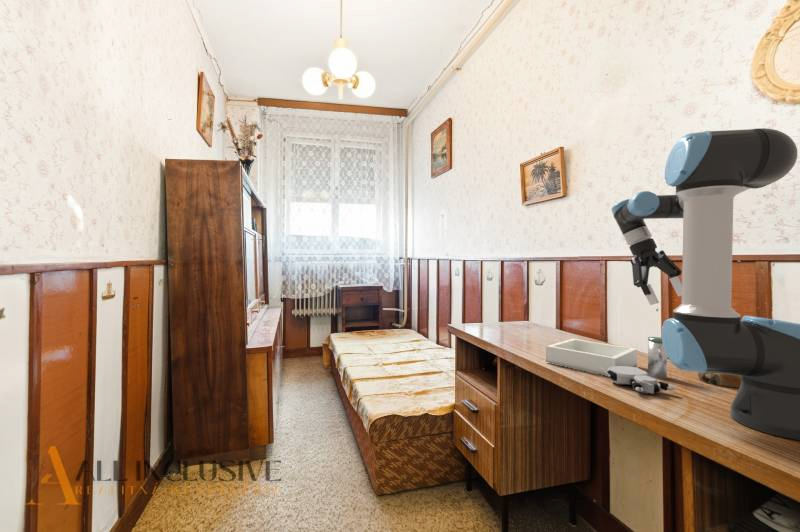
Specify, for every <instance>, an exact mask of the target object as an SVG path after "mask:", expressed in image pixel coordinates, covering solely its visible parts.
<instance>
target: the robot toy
mask: <svg viewBox="0 0 800 532" xmlns="http://www.w3.org/2000/svg"><path fill="white" fill-rule="evenodd" d="M601 370H603V368H601ZM603 371H604V370H603ZM604 372H605V373H606V374H607V376H608V377H607V376H606V377H607V378H608V379H610V380H611V381H613V383H615V384H617V385H619V384H620V385H621V386H623V385H628V386H632V389H633V390H634V391H635V392H640V393H641V394H648V393H650V394H653V395H654V394H660V392H661V390H663V391H665V392H666V391H672V392H673V391H675V390H676V388H675V386H672V385H669V383H667V382H664V381H661V380H660V381H658V380H657V378H653V377H650V376H649V374H648V371H645V370H643V369H641V368H639V367H638V366H636V367H630V366H613V367H610V368H608V369H607V372H606V371H604Z"/></svg>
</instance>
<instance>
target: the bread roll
mask: <svg viewBox="0 0 800 532" xmlns="http://www.w3.org/2000/svg"><path fill="white" fill-rule="evenodd" d="M697 376H698V378H699V380H700V381H702V382H704V383H706V384H709V385H713V386H719V387H724V386H726V388H740V386H741V378H742V375H731V374H717V373H698V372H697Z"/></svg>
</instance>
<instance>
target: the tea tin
mask: <svg viewBox="0 0 800 532" xmlns="http://www.w3.org/2000/svg"><path fill="white" fill-rule="evenodd" d="M647 341H648V345H647V347H648V348H647V373H648V374H649V377H651V378H654V379H661V380H666V379H668V359H669V358H668V356H667V354H666V352H665V349H664V346H663V342H662V337H660V336H659V337H658V336H648V337H647Z"/></svg>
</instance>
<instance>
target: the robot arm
mask: <svg viewBox="0 0 800 532" xmlns="http://www.w3.org/2000/svg"><path fill="white" fill-rule="evenodd" d="M797 160H798V147H797V145H796V143H795V142H794V140H793V139H792V138H791V137H790V136H789V135H788V134H786V133H785V132H783V131H780V130H777V129H773V128H765V127H764V128H753V129H752V128H751V129H750V128H749V129H731V130H730V129H729V130H705V131H701V132H692V133H691V132H690V133H687V134H685V135H682V136H681V137H679V139H678V140H677V141H676V142H675V144H674V145H673V146H672V148H671V150H670V152H669V154H668V156H667V159H666V162H665V165H664V166H665V168H664V180H665V183H666V184H667V185H668V186H669V187H673V188H675V194H666V195H663V194H662V195H661V194H659V195H657V194H656V193H654V192H652V191H649V190H644V191H641V192H638V193H636V194H635V195H634V196H632V197H631V198H627V199H625V200H621V201H620V202H617V203H615V204H614V205H613V206H611V209H610V210H611V213H612V215H613V218H614V220H615V221H616V223H617V226H618V227H619V229H620V232H621V233H622V235H623V237H624V239H625V241H626V244H627V245H628V246H629V250H630V252H631V255H632V256H633V257H632V258H630V260H629V261H630V263H631V268H632V280H633V281H632V282H633V286H634V287H637V288H641V291H642V292H643V295H644V296H645V298H646V299H647V301H648V304H649V306H651V305H656V304H660V301H659V300H658V297H657V295H656V293H655V291H654V288H653V287H652V285H651V284H650V283H649V282H648V281H649V274H650V268H653V267H654V268H657V269H659V270H660V271H661V272H663V273H664V274H665V275H667V276H668V277H669V278H668V279H669V281H670V283H671V285H672V288H673V289H674V292H675V293H676V295H677V297H681V303H680V304H679V306H677V307H676V308H674V309H673V313H672V314H673V316H672V317H670V318H668V319H666V320H664V321H663V323H662V326H661V333H660V334H661V338H662V342H663V346H664V349H665V352H666V354H667V356H668V359H669V361H670V362H671V363H672V365H674V366H675V368H677V369H679V370H682V371H686V372H687V371H688V372H693V373H695V372H696V373H697V374H698V373H717V374H731V375H742V378H741V386H740V387H738V390H737V392H736V394H735V397H734V398H733V400H732V402H731V404H730V410H729V411H730V413H729V415H730V417H731V419H733V421H736V422H738V423H739V424H741V425H743V426H745V427H748V428H750V429H753V430H755V431H758V432H762V433H766V434H769V435H774V436H777V437H781V438H785V439H791V440H796V441H800V323H797V322H792V321H791V322H790V321H785V320H778V319H772V318H767V317H760V316H752V315H743V316H742V318H741V314H740V313H739V312H737V311H736V310H735V309H734V308H733V307H732V289H733V287H732V285H733V284H732V283H733V282H732V281H733V280H732V279H733V241H734V240H733V238H734V237H733V235H734V233H733V230H734V198H735V197H736V196H737V195H739V194H741V193H743V192H746V191H747V190H749V189H755V190H756V189H761V188H765V187H767V186H769V185H771V184H774V183H776V182H778V181H779V180H781V179H782V178H784V177H785V176H786V175H788V174H789V172H790V171H791V170H793V168H794V166H795V164H796V163H797ZM645 219H648V220H649V219H656V220H657V219H683V222H682V266H681V267H682V270H681V268H679V267H678V265H676V263H675V262H673V260H672V259H670V258H669V256H668V255H667V254H666V251H664V250H663V249H662V250H660V251H657V250H656V249H657V247H658V246H657V243H656V242H655V240H654V238H652V233H651V231H650V230H649V228H648V226H647V224H646V222H645ZM681 275H682V277H681V278H680V276H681ZM648 283H649V284H648Z"/></svg>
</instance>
